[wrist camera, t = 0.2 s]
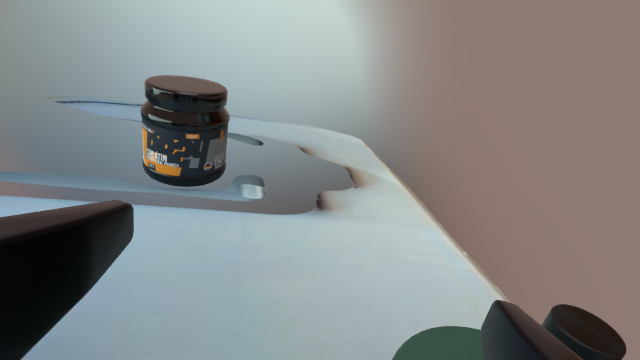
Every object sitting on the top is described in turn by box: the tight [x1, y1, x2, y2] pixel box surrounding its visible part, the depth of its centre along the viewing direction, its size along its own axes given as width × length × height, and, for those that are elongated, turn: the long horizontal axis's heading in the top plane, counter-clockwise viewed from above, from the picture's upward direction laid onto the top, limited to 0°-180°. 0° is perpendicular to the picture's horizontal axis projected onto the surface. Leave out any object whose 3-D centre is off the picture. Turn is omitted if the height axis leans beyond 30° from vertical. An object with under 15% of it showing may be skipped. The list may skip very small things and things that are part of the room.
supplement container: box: [141, 75, 230, 187], centre depth 46 cm, size 10×10×12 cm
